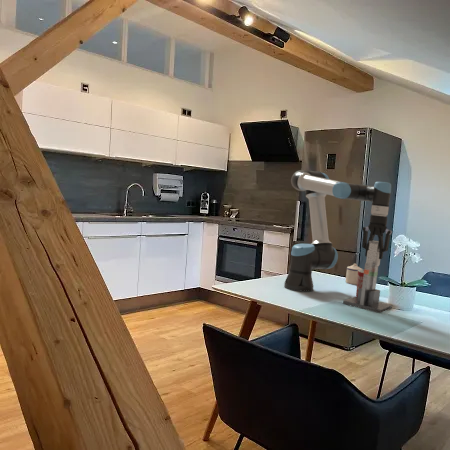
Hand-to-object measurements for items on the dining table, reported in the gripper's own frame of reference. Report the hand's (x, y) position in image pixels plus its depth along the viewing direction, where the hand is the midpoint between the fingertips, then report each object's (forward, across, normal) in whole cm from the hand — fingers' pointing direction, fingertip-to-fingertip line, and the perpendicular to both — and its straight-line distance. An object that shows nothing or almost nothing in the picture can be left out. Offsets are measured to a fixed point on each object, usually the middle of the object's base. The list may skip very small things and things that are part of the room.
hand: (372, 264), depth 215 cm
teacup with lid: (+20, -30, +50) cm, 62 cm away
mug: (+20, -10, +18) cm, 29 cm away
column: (+12, 0, 0) cm, 12 cm away
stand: (+20, 0, 0) cm, 20 cm away
